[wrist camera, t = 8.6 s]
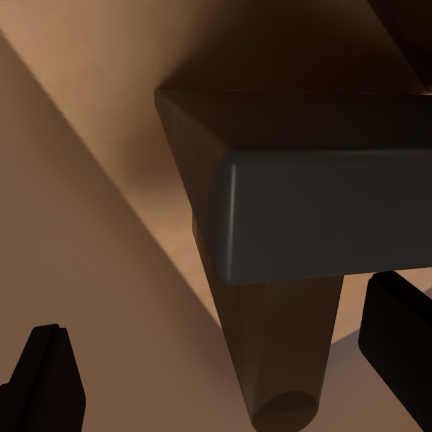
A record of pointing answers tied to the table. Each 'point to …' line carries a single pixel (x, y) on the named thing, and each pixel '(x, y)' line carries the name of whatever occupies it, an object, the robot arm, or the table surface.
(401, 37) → the cabinet
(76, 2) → the table surface
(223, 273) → the door
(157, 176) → the table surface
